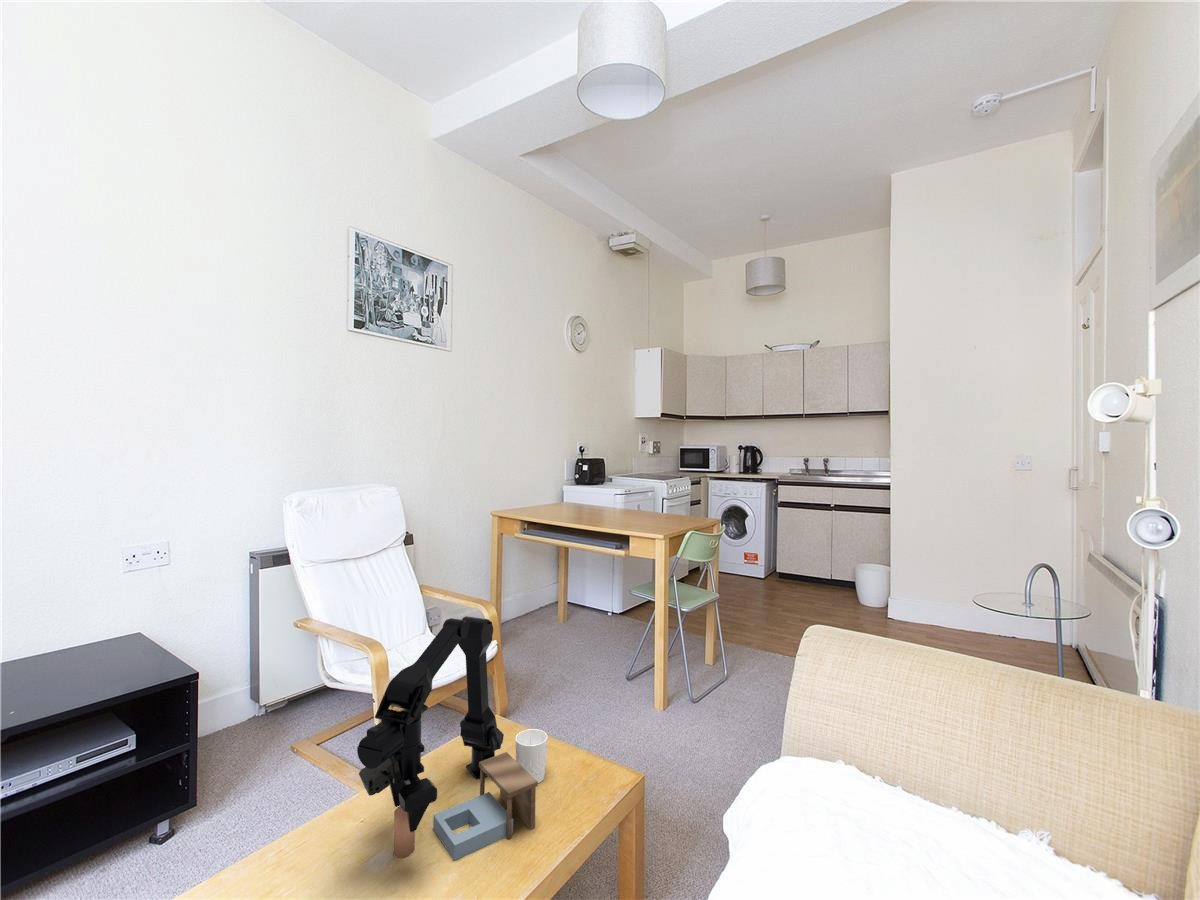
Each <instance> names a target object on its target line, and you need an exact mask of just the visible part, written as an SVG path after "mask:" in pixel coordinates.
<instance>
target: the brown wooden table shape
mask: <svg viewBox="0 0 1200 900" xmlns="http://www.w3.org/2000/svg"><path fill="white" fill-rule="evenodd" d="M479 767H480V778H479V779H480V780H479V787H480V788H479V796H480V795H483V794H485V787H486V786H485V781H486V779H485V778H486V777H488V778H489V779H490V780H491V781H492V783H494V784H495V786H496V787H497V788H498V789H499V796H500V798H502V800H503V801H504V802H505V803H506V811H507V832H506V838H505V839H507V840H510V839H512V834H511V823H512V818H513V817H512V816H513V815H512V814H513V811H514V813H515V814H516V815H517V817H519V818H520V820H522V822H523V823H524V824H525V825H526V827H528V829H529V830H533V829H535V828H536V795H537V794H536V791H537V789H536V787H538V785H539V783H538V781H537V780H536V779H535V778H534V777H533V776H532V775H530V774H529V773H528V772H527V771H526V770H525V769H524V768H523V767H522V766H521V765H520V764H519V763H518V762H517V761H516V759H515V758H513V757H512V756H511V755H510V754H509V753H508V752H507V751H506V752H502V753H500V754H496V755H495V756H494V757H491V758H489V759H486V760H483V761H481V762H479ZM485 774H486V775H487V776H485Z"/></svg>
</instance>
